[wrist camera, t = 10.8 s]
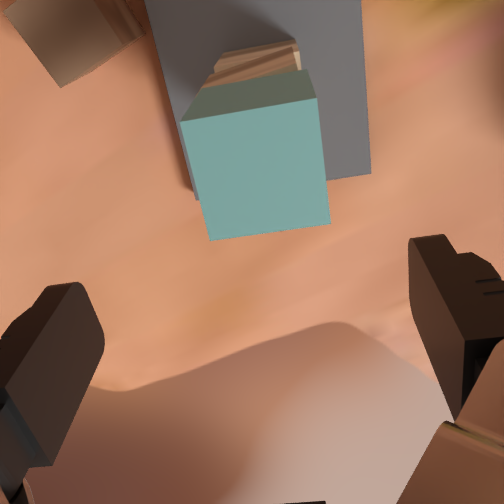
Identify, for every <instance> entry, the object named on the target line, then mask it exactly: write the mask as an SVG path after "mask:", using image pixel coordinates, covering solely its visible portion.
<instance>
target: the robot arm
mask: <svg viewBox="0 0 504 504" xmlns="http://www.w3.org/2000/svg"><path fill="white" fill-rule="evenodd" d="M408 264H409V299H410V306H411V311H412V315H413V319H414V321H415V324H416V326H417V329H418V331H419V334H420V336H421V339H422V341H423V344H424V346H425V349H426V351H427V354H428V356H429V359H430V361H431V364H432V366H433V369H434V371H435V374H436V376H437V379H438V381H439V384H440V386H441V389H442V391H443V394H444V396H445V399H446V401H447V404H448V406H449V409H450V411H451V414H452V416H453V419H454V421H455V422H454V423H451V422H449V421H444V422H443V423H442V424H441V425H440V426H439V428H438V429H437V431H436V433H435V434H434V436H433V438H432V440H431V442H430V444H429V445H428V447H427V449H426V451H425V452H424V454H423V456H422V458H421V460H420V462H419V464H418V465H417V467H416V469H415V471H414V473H413V474H412V476H411V478H410V480H409V481H408V483H407V485H406V487H405V489H404V490H403V493H402V494H401V496H400V498H399V500H398V502H397V503H396V504H504V281H502V280H501V277H500V275H499V274H498V273H497V271H496V270H495V269H494V267H493V266H492V265H491V263H489V262H488V261H486V260H484V259H482V258H481V257H479V256H477V255H476V254H474V253H472V252H469V253H461V254H457V253H456V251H455V249H454V248H453V246H452V245H451V243H450V242H449V240H448V239H447V237H446V236H445V235H444V234H439V235H431V236H424V237H416V238H410V239H409V243H408ZM104 345H105V339H104V333H103V329H102V327H101V325H100V322H99V320H98V318H97V315H96V313H95V311H94V308H93V306H92V304H91V301H90V299H89V297H88V294H87V292H86V290H85V288H84V286H83V285H82V284H81V283H79V282H72V283H65V284H57V285H50V286H47V287H46V288H45V289H44V290H43V292H42V293H41V295H40V296H39V297H38V299H37V300H36V301H35V303H34V304H33V305H32V307H31V308H29V309H28V310H26V311H25V312H24V313H23V314H21V315H20V316H19V317H18V318H16V319H15V320H14V321H13V322H12V323H11V324H10V326H9V327H8V328H7V330H6V331H5V332H4V333H3V335H2V336H1V339H0V504H35V503H34V500H33V496H32V493H31V490H30V487H29V484H28V483H27V481H26V480H25V478H24V477H25V475H26V473H27V471H28V469H29V468H32V467H44V466H52V465H53V463H54V461H55V459H56V457H57V454H58V452H59V450H60V448H61V445H62V443H63V441H64V439H65V437H66V434H67V432H68V430H69V428H70V425H71V423H72V421H73V419H74V416H75V414H76V412H77V410H78V408H79V405H80V403H81V401H82V399H83V397H84V395H85V392H86V390H87V388H88V386H89V384H90V381H91V379H92V377H93V375H94V372H95V370H96V368H97V366H98V364H99V361H100V359H101V357H102V355H103V352H104ZM286 504H326V502H325V501H316V502H301V503H286Z"/></svg>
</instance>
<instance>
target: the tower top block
mask: <svg viewBox="0 0 504 504" xmlns="http://www.w3.org/2000/svg"><path fill="white" fill-rule="evenodd" d="M293 71H298V67H297V63H296V60H295V56H294V52H293V48H292V46H291V47H289V48H286V49H283V50H280V51H277V52H274V53H271V54H268V55H265V56H263V57H260V58H257V59H254V60H251V61H248V62H245V63H242V64H240V65H237V66H234V67H231V68H228V69H225V70H222V71H219V72H216V73H214V74H211V75H209V77H208V78H207V80H206V81H205V83H204V84H203V86H202V87H201V88H206V87H211V86H217V85H222V84H228V83H233V82H239V81H244V80H250V79H255V78H261V77H266V76H271V75H277V74H282V73H288V72H293ZM200 90H201V89H200ZM200 90H199V91H200ZM198 93H199V92H198ZM198 93H197V94H198ZM196 96H197V95H196Z"/></svg>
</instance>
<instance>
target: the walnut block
mask: <svg viewBox="0 0 504 504" xmlns="http://www.w3.org/2000/svg"><path fill="white" fill-rule="evenodd" d="M3 13H4V14H5V15H6V17H7V18H8V19H9V21H10V22H11V23H12V25H13V26H14V27H15V29H16V30H17V31H18V33H19V34H20V35H21V36H22V38H23V39H24V40H25V42H26V43H27V44H28V46H29V47H30V48H31V50H32V51H33V52H34V54H35V55H36V56H37V58H38V59H39V60H40V62H41V63H42V64H43V66H44V67H45V68H46V70H47V71H48V72H49V74H50V75H51V76H52V78H53V79H54V80H55V82H56V83H57V84H58V86H59V87H60V88H62V87H64V86H65V85H67V84H69V83H71V82H73V81H75V80H77V79H79V78H81V77H82V76H84V75H86V74H88V73H90V72H92V71H93V70H95V69H96V68H98V67H99V66H100V65H102V64H103V63H105V62H106V61H108V60H109V59H111V58H112V57H113V56H115V55H116V54H118V53H119V52H121V51H122V50H123V49H125V48H126V47H128V46H129V45H131V44H132V43H134V42H135V41H136V40H138V39H139V38H141V37H142V36H144V35H145V34H146V33H145V32H144V30H143V29H142V27H141V25H140V24H139V22H138V21H137V19H136V18H135V16H134V14H133V13H132V11H131V10H130V8H129V7H128V5H127V3H126V2H125V0H16V1H15V2H14V3H13V4H11V5H10V6H9V7H8V8H6V9H5V10H4V11H3Z"/></svg>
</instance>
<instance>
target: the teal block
mask: <svg viewBox="0 0 504 504" xmlns="http://www.w3.org/2000/svg"><path fill="white" fill-rule="evenodd" d="M180 126H181V130H182V134H183V137H184V141H185V145H186V149H187V153H188V157H189V161H190V165H191V169H192V173H193V177H194V180H195V184H196V188H197V192H198V196H199V200H200V204H201V208H202V212H203V216H204V219H205V223H206V227H207V231H208V235H209V239H210V241H214V240H221V239H228V238H235V237H242V236H249V235H256V234H263V233H270V232H277V231H284V230H291V229H298V228H305V227H313V226H320V225H327V224H331V220H330V211H329V202H328V193H327V184H326V175H325V166H324V157H323V148H322V139H321V130H320V121H319V112H318V103H317V97H316V94H315V91H314V88H313V85H312V82H311V79H310V76H309V74H308V71H307V69H304V70H299V71H293V72H288V73H282V74H277V75H271V76H266V77H261V78H255V79H250V80H244V81H239V82H233V83H228V84H222V85H217V86H211V87H206V88H201V90H200V91H199V93H198V94H197V96H196V97H195V99H194V101H193V102H192V104H191V105H190V107H189V108H188V110H187V111H186V113H185V114H184V116H183V117H182V119H181V121H180Z"/></svg>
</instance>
